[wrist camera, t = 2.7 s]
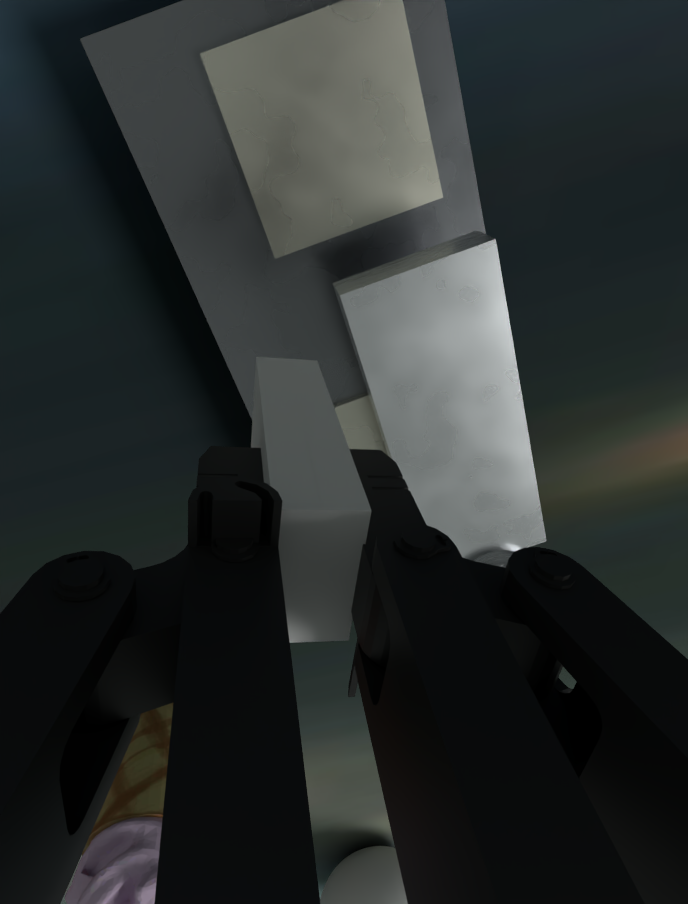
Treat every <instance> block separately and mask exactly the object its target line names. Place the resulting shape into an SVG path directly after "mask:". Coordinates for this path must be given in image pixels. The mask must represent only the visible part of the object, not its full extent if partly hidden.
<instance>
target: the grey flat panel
mask: <svg viewBox="0 0 688 904" xmlns="http://www.w3.org/2000/svg"><path fill="white" fill-rule="evenodd" d="M333 286H334V290H335V293H336V296H337V299H338V302H339V305H340V308H341V311H342V314H343V317H344V321H345V324H346V327H347V330H348V333H349V336H350V339H351V342H352V345H353V348H354V352H355V355H356V358H357V361H358V364H359V367H360V370H361V373H362V376H363V379H364V383H365V386H366V389H367V392H368V395H369V398H370V401H371V404H372V407H373V410H374V413H375V417H376V420H377V423H378V426H379V429H380V432H381V435H382V438H383V441H384V444H385V448H386V451H387V454H388V456H389V457H390V458H391V459H393V460H394V461H395V462H396V463H397V465H398V467H399V469H400V471H401V473H402V475H403V479H404V480H405V482H406V484H407V486H408V490H409V491H410V492H411V494H412V496H413V498H414V500H415V502H416V504H417V506H418V508H419V510H420V512H421V515H422V517H423V519H424V521H425V523H426V525H428V526H430V527H433V528H436V529H438V530H439V531H441V532H442V533H444V534H445V535H447V536H448V537H449V538H450V539H451V540H452V541H453V543H454V544H455V545H456V546H457V548H458V550H459V552H460V554H461V556H462V557H463V558H466V559H469V560H473V561H476V562H481V563H485V564H490V565H495V566H500V567H504V568H506V565H507V562H508V559H509V558H510V556H511V555H512V553H513V552H514V551H517V550H519V549H522V548H528V547H531V546H534V545H536V544H539V543H542V542H545V541H546V536H545V530H544V524H543V518H542V512H541V506H540V500H539V494H538V488H537V482H536V476H535V470H534V464H533V458H532V453H531V447H530V441H529V435H528V429H527V423H526V417H525V411H524V405H523V399H522V393H521V387H520V381H519V375H518V369H517V363H516V357H515V351H514V345H513V339H512V333H511V328H510V322H509V316H508V310H507V304H506V298H505V292H504V286H503V280H502V274H501V268H500V262H499V256H498V250H497V244H496V239H495V238H493V237H490V236H488V235H486V234H484V233H482V232H479V231H477V230H476V231H474V232H471V233H468V234H465V235H463V236H460V237H457V238H454V239H452V240H449V241H446V242H443V243H441V244H438V245H435V246H432V247H430V248H427V249H424V250H421V251H418V252H416V253H413V254H410V255H407V256H405V257H402V258H399V259H396V260H394V261H391V262H388V263H385V264H383V265H380V266H377V267H374V268H372V269H369V270H366V271H363V272H361V273H358V274H355V275H352V276H350V277H347V278H344V279H341V280H339V281H336V282H333Z"/></svg>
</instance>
